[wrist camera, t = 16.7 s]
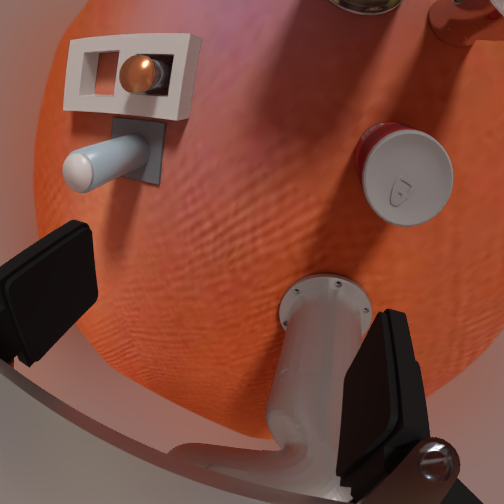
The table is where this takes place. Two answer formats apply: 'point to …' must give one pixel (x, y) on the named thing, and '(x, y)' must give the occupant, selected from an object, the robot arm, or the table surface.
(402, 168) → the canned food
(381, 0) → the coffee can
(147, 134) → the mat
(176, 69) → the housing
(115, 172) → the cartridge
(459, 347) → the table surface
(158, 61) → the plunger
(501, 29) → the beer glass
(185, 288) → the table surface
